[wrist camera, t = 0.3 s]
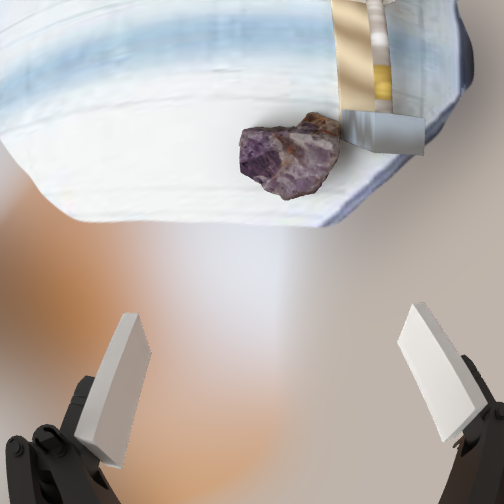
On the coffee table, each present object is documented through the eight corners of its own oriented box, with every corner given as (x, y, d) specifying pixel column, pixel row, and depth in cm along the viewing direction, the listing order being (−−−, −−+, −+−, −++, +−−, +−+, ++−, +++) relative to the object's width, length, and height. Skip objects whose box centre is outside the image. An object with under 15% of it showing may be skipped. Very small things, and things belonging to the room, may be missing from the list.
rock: (243, 116, 34) (251, 190, 39) (229, 117, 27) (240, 210, 31) (335, 111, 32) (338, 186, 37) (347, 111, 25) (350, 206, 29)
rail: (321, -52, 21) (343, -89, 11) (361, -45, 20) (393, -76, 11) (340, 139, 35) (374, 152, 25) (380, 140, 35) (423, 155, 25)
